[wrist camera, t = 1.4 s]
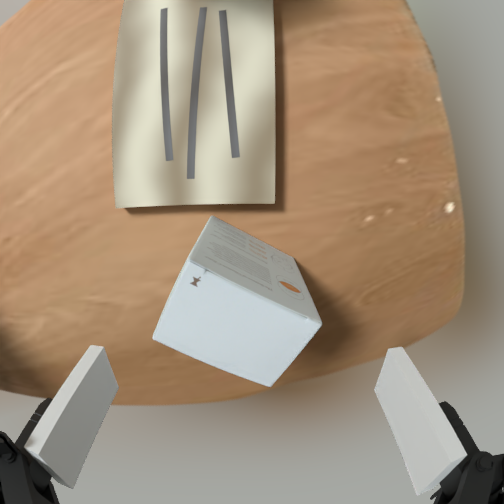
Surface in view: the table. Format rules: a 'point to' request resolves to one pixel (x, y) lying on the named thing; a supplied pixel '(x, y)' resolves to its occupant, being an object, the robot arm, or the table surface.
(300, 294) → the small box
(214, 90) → the board
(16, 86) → the table surface
